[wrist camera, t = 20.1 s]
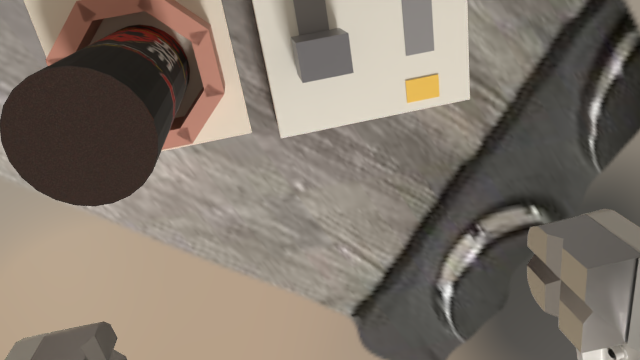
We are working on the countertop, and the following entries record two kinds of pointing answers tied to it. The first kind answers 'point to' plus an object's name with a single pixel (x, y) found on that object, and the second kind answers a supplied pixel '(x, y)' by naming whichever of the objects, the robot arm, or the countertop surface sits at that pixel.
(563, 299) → the robot arm
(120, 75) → the deodorant
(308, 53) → the untagged switch
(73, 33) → the ring
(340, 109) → the breaker panel
